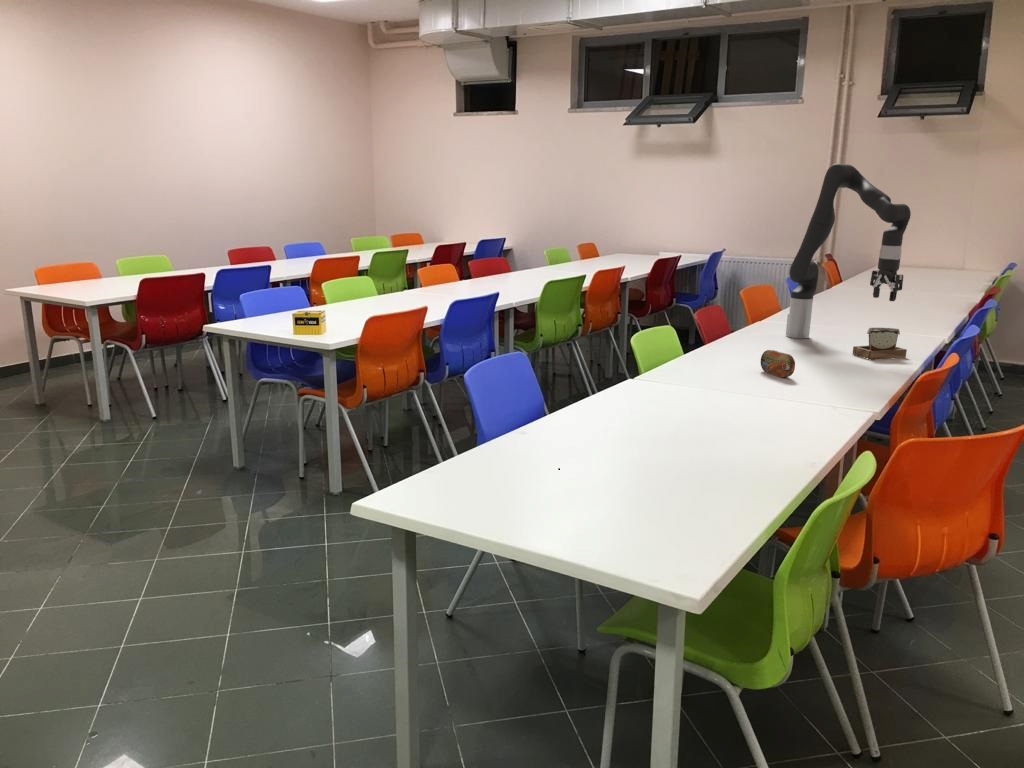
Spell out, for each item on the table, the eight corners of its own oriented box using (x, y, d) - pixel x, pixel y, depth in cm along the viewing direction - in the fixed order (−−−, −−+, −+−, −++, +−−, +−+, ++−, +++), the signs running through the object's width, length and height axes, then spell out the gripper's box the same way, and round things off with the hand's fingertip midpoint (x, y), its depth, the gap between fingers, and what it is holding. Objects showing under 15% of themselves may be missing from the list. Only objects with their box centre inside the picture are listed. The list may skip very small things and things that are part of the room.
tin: (758, 370, 287) (761, 347, 285) (765, 369, 288) (767, 347, 286) (788, 380, 274) (790, 356, 272) (795, 379, 275) (797, 355, 273)
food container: (890, 352, 316) (892, 327, 314) (898, 354, 310) (900, 329, 308) (859, 352, 315) (861, 327, 314) (866, 354, 309) (868, 328, 308)
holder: (852, 354, 315) (853, 346, 314) (885, 352, 320) (886, 344, 319) (871, 360, 305) (872, 351, 304) (905, 357, 310) (906, 349, 309)
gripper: (868, 255, 309) (862, 296, 313) (895, 259, 296) (889, 302, 300) (884, 255, 311) (878, 296, 316) (911, 259, 298) (905, 301, 303)
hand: (883, 299), depth 308 cm, fingers open, 8 cm apart
